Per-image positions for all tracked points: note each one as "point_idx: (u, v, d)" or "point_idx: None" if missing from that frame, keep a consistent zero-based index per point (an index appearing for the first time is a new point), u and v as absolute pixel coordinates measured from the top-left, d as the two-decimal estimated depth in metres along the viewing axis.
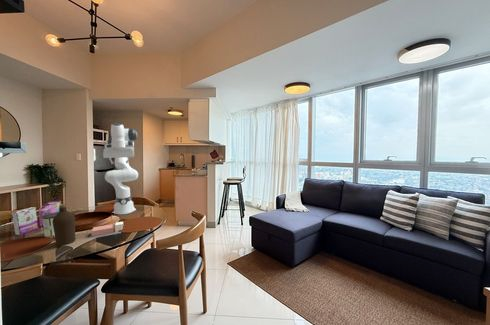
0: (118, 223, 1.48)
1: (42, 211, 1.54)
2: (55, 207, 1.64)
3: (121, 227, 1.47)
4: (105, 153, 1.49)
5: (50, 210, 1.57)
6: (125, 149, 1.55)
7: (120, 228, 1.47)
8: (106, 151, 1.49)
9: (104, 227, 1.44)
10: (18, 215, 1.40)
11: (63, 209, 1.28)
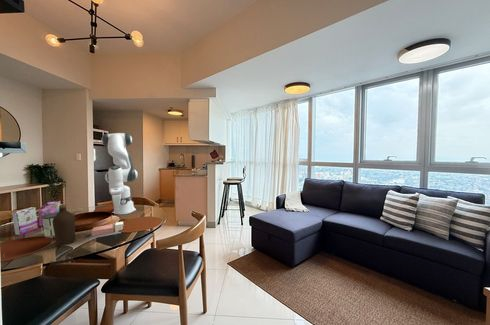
0: (118, 223, 1.48)
1: (41, 211, 1.54)
2: (54, 207, 1.64)
3: (121, 227, 1.47)
4: None
5: (49, 210, 1.57)
6: None
7: (120, 228, 1.47)
8: None
9: (104, 227, 1.44)
10: (18, 215, 1.40)
11: (63, 209, 1.28)
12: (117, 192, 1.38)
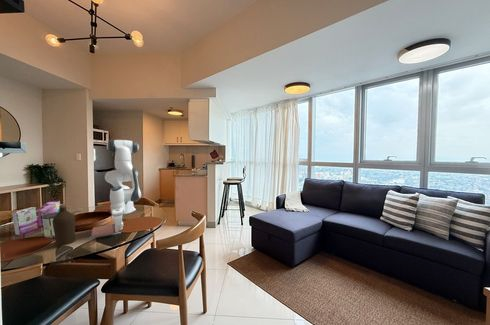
0: None
1: (41, 211, 1.54)
2: (54, 207, 1.64)
3: (121, 227, 1.47)
4: None
5: (49, 210, 1.56)
6: None
7: None
8: None
9: (104, 227, 1.44)
10: (18, 215, 1.40)
11: (63, 209, 1.28)
12: (119, 213, 1.40)
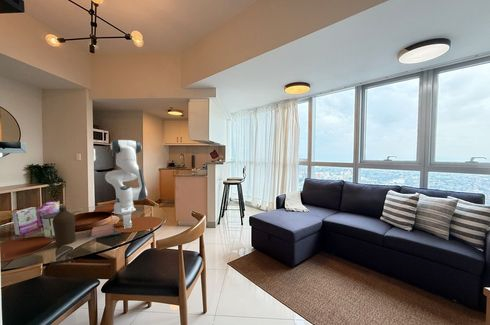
0: None
1: (40, 211, 1.54)
2: (53, 207, 1.64)
3: (129, 225, 1.50)
4: None
5: (48, 210, 1.56)
6: None
7: (129, 226, 1.49)
8: None
9: (104, 227, 1.44)
10: (18, 215, 1.40)
11: (63, 209, 1.28)
12: (127, 212, 1.43)
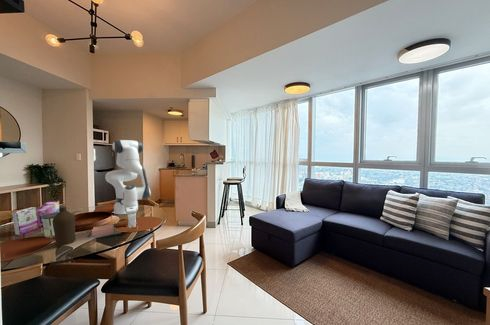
0: None
1: (40, 211, 1.54)
2: (53, 207, 1.64)
3: (134, 225, 1.51)
4: None
5: (48, 210, 1.56)
6: None
7: None
8: None
9: (104, 227, 1.44)
10: (18, 215, 1.40)
11: (63, 209, 1.28)
12: (132, 211, 1.44)
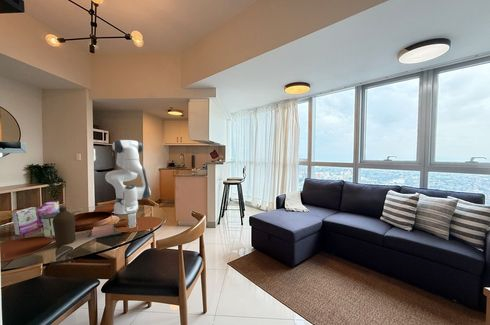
0: None
1: (39, 211, 1.54)
2: (52, 207, 1.64)
3: (134, 225, 1.51)
4: None
5: (47, 210, 1.56)
6: None
7: None
8: None
9: (104, 227, 1.44)
10: (18, 215, 1.40)
11: (63, 209, 1.28)
12: (133, 211, 1.44)
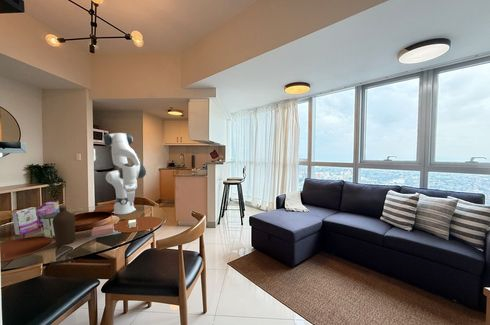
0: (131, 221, 1.52)
1: (39, 211, 1.53)
2: (52, 207, 1.63)
3: (134, 225, 1.51)
4: None
5: (47, 210, 1.56)
6: None
7: (133, 226, 1.51)
8: None
9: (104, 227, 1.44)
10: (18, 215, 1.40)
11: (63, 209, 1.28)
12: (131, 189, 1.42)
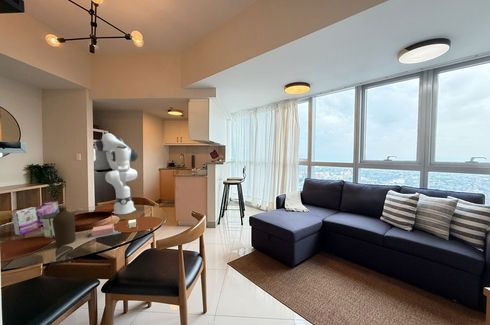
0: (131, 221, 1.52)
1: (38, 211, 1.53)
2: (51, 207, 1.63)
3: (134, 225, 1.51)
4: None
5: (46, 210, 1.56)
6: None
7: (133, 226, 1.51)
8: None
9: (104, 227, 1.44)
10: (18, 215, 1.40)
11: (63, 209, 1.28)
12: (124, 169, 1.48)
